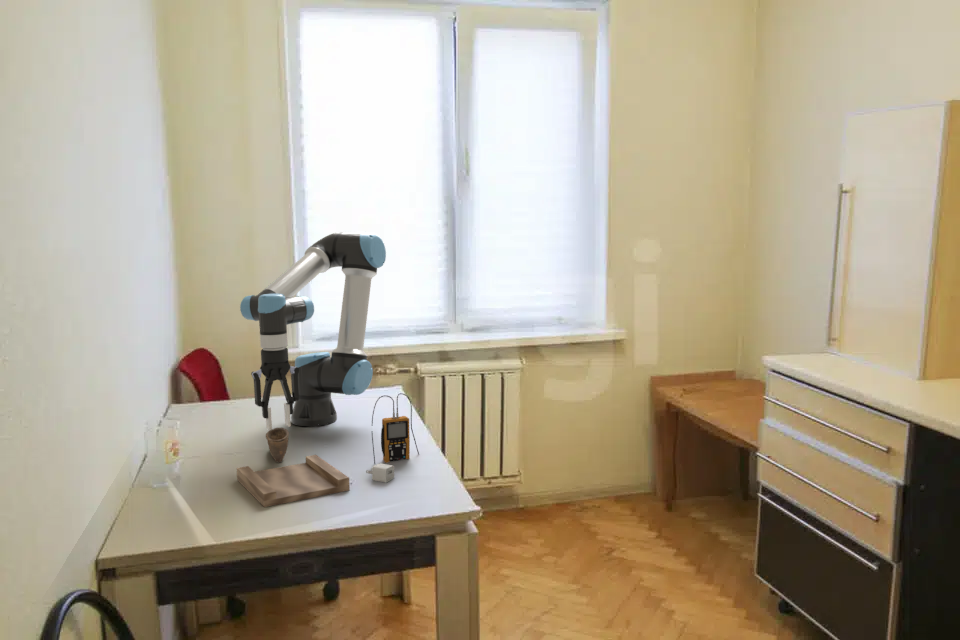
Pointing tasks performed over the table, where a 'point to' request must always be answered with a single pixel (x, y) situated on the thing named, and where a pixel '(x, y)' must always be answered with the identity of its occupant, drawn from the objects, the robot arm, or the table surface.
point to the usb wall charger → (382, 472)
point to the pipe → (277, 443)
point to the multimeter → (395, 436)
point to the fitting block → (293, 481)
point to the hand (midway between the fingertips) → (278, 426)
